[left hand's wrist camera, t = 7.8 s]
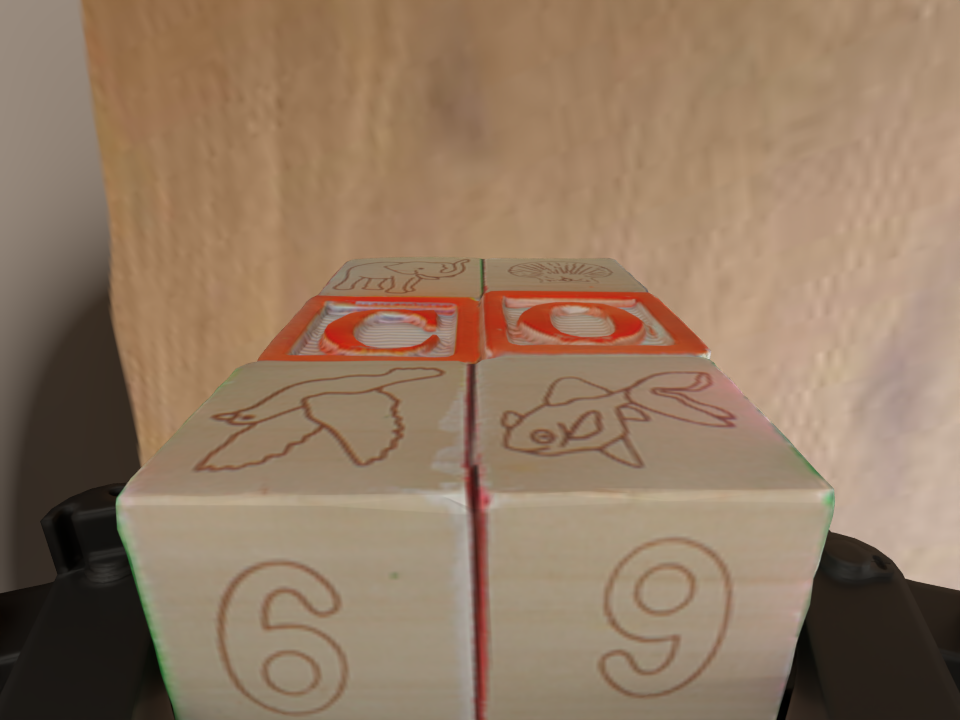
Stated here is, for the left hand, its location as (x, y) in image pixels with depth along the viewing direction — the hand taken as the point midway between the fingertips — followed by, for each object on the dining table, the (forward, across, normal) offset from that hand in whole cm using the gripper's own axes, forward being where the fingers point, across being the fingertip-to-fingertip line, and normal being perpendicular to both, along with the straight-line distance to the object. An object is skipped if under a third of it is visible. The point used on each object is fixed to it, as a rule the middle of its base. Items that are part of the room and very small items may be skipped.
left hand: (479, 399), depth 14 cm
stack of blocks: (+1, 0, -7) cm, 7 cm away
